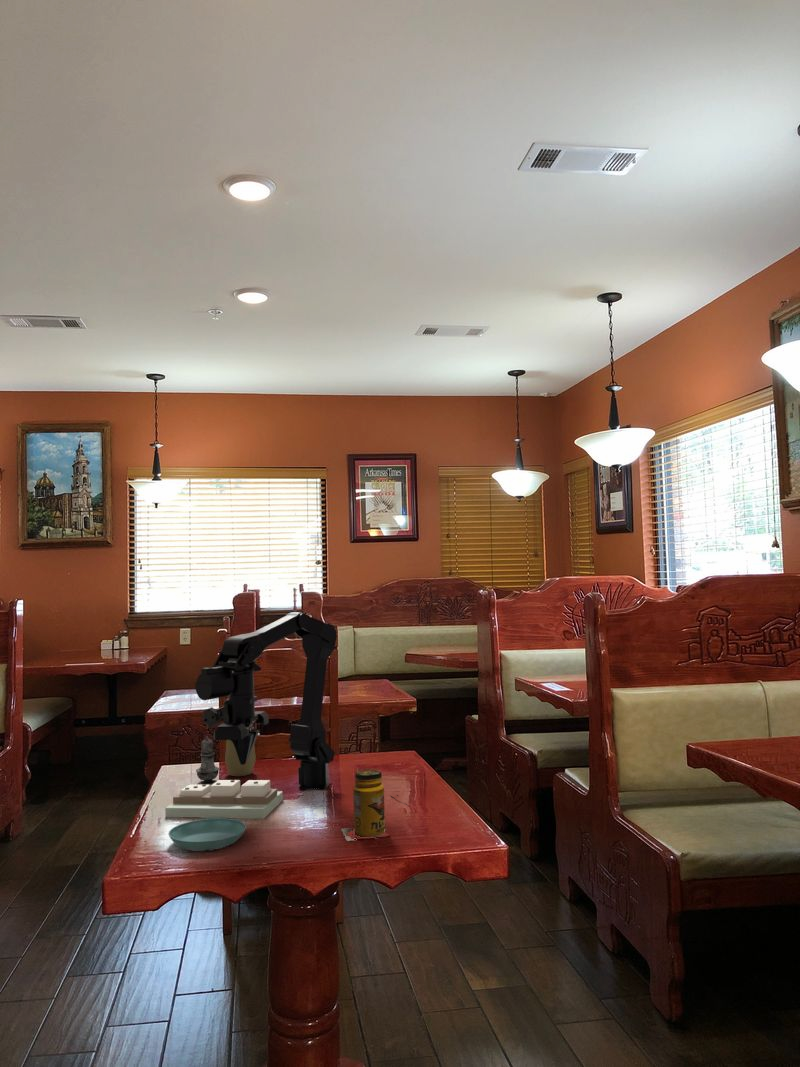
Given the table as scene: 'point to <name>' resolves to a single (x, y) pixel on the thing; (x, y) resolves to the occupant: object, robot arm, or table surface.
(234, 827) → the saucer
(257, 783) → the one-pip key
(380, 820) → the condiment
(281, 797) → the board
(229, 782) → the two-pip key
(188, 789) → the three-pip key
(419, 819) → the table surface
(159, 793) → the table surface
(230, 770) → the squeeze bottle
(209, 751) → the grey tall tapered piece
